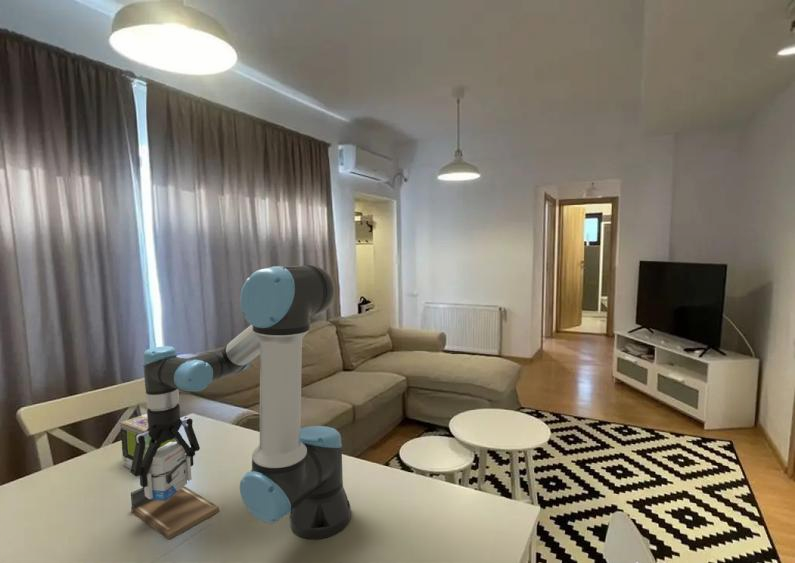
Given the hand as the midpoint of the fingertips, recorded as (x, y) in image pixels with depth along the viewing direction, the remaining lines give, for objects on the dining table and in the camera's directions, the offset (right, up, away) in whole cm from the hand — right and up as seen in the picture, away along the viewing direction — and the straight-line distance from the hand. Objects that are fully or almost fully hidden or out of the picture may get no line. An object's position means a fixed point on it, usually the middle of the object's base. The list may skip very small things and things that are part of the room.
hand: (168, 487), depth 111 cm
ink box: (0, -1, 0) cm, 1 cm away
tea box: (-19, -5, +24) cm, 31 cm away
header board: (+2, -6, -1) cm, 6 cm away
